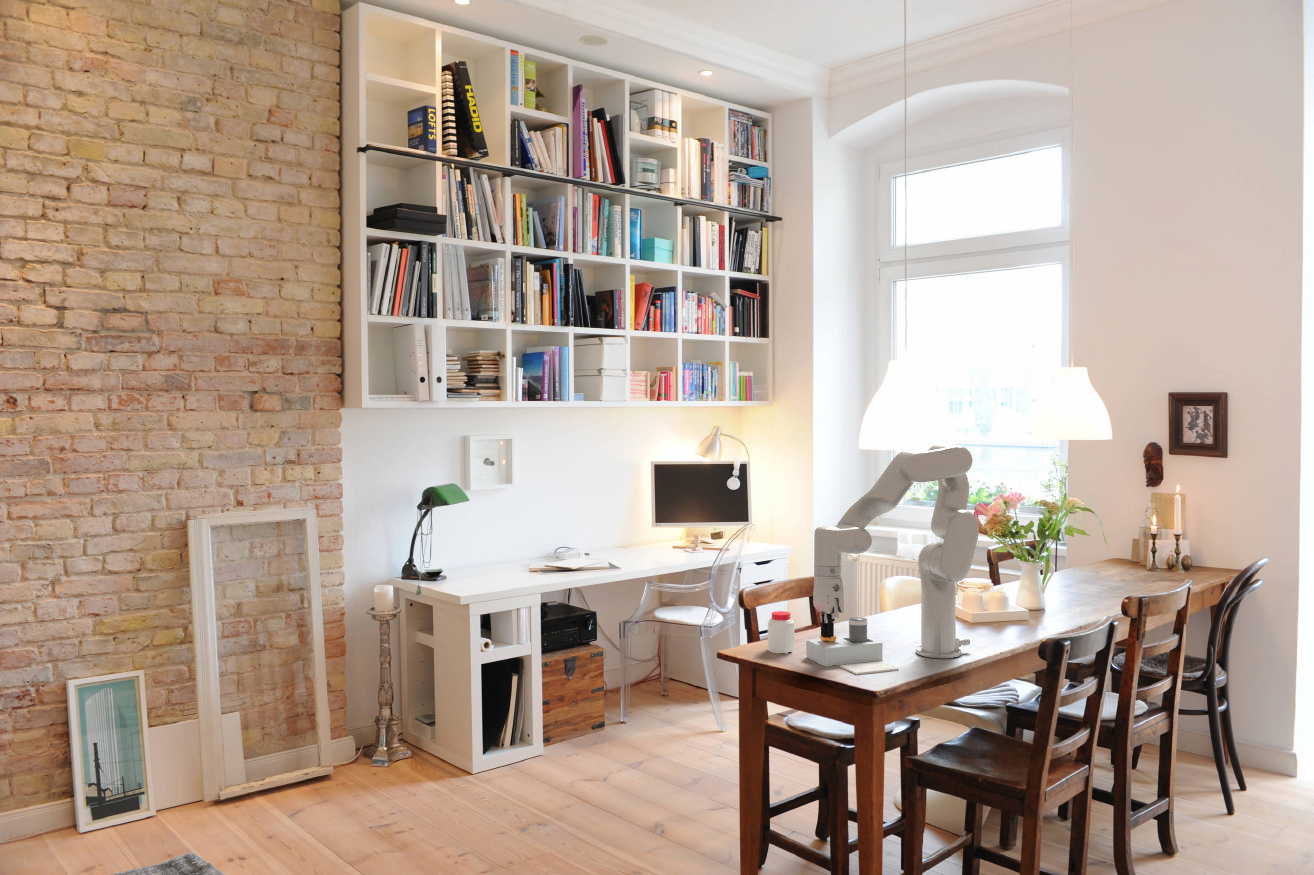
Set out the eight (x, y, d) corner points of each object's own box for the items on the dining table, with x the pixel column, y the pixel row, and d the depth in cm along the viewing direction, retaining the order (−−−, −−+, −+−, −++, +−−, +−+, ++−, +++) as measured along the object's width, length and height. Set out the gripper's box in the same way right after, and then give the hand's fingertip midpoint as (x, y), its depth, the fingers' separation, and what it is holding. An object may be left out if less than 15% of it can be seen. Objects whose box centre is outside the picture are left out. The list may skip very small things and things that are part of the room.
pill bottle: (792, 647, 300) (791, 610, 300) (796, 653, 293) (796, 615, 292) (766, 647, 300) (765, 610, 300) (769, 653, 292) (769, 616, 292)
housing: (862, 651, 294) (861, 634, 294) (882, 660, 284) (882, 642, 283) (806, 657, 288) (806, 639, 288) (825, 666, 278) (825, 648, 277)
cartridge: (861, 654, 291) (861, 616, 290) (871, 658, 286) (870, 620, 285) (845, 656, 289) (845, 617, 288) (854, 660, 284) (854, 621, 284)
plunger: (831, 655, 287) (831, 634, 287) (839, 658, 283) (839, 637, 283) (817, 656, 285) (817, 635, 285) (825, 660, 281) (825, 638, 281)
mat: (881, 662, 281) (881, 661, 281) (898, 670, 273) (898, 668, 273) (840, 667, 277) (840, 665, 277) (856, 674, 269) (856, 673, 269)
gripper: (853, 574, 277) (852, 641, 278) (826, 566, 292) (826, 630, 292) (828, 576, 275) (828, 643, 276) (803, 567, 289) (802, 631, 290)
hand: (827, 636), depth 284 cm, fingers closed
